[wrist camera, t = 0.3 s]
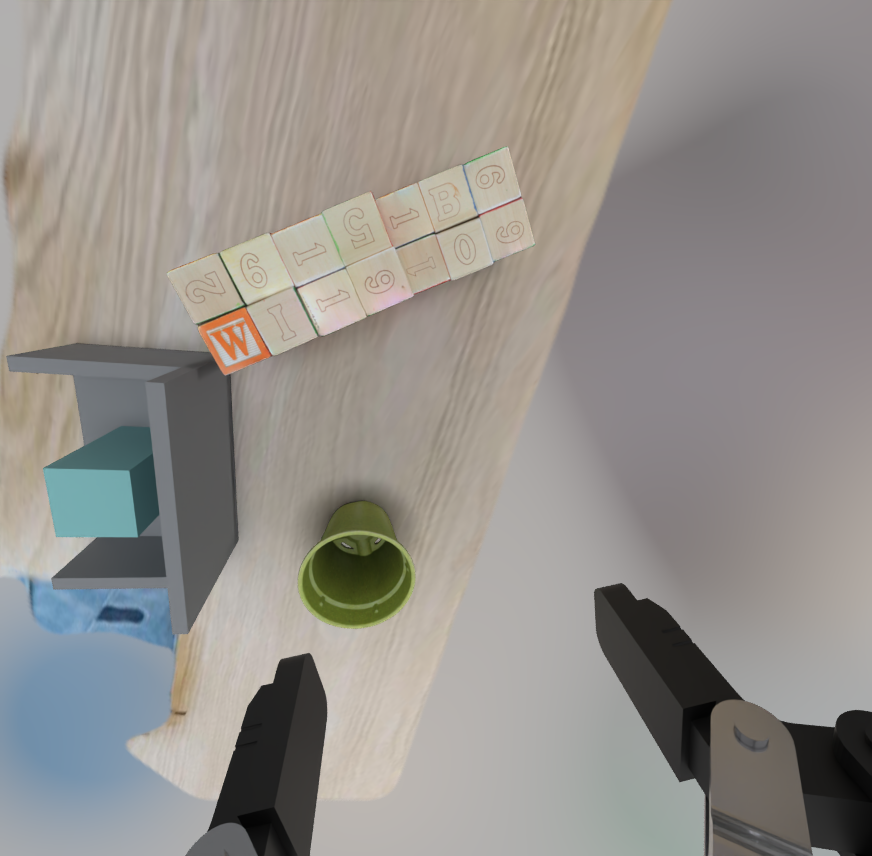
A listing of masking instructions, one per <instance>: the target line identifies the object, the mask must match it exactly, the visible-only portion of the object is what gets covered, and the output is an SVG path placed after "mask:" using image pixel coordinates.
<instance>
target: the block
mask: <svg viewBox="0 0 872 856" xmlns="http://www.w3.org/2000/svg"><path fill="white" fill-rule="evenodd" d="M43 471H44V476H45V481H46V487H47V492H48V497H49V502H50V507H51V513H52V518H53V523H54V528H55V533H56V537H139V536H140V535H141V534H142V532H143V531H144V530H145V529H146V528H147V527H148V526H149V525H150V524H151V523H152V522H153V521H154V520H155V519H156V518H157V517H158V516H159V515H160V514H159V504H158V495H157V486H156V477H155V468H154V458H153V449H152V440H151V431H150V427H133V426H120V427H118V428H117V429H115V430H113V431H111V432H109V433H107V434H106V435H104V436H102V437H100V438H98V439H96V440H94V441H93V442H91V443H89V444H87V445H85V446H83V447H81V448H80V449H78V450H76V451H74V452H72V453H70V454H69V455H67V456H65V457H63V458H61V459H59V460H57V461H56V462H54V463H52V464H50V465H48V466H46V467H44V468H43Z"/></svg>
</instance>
